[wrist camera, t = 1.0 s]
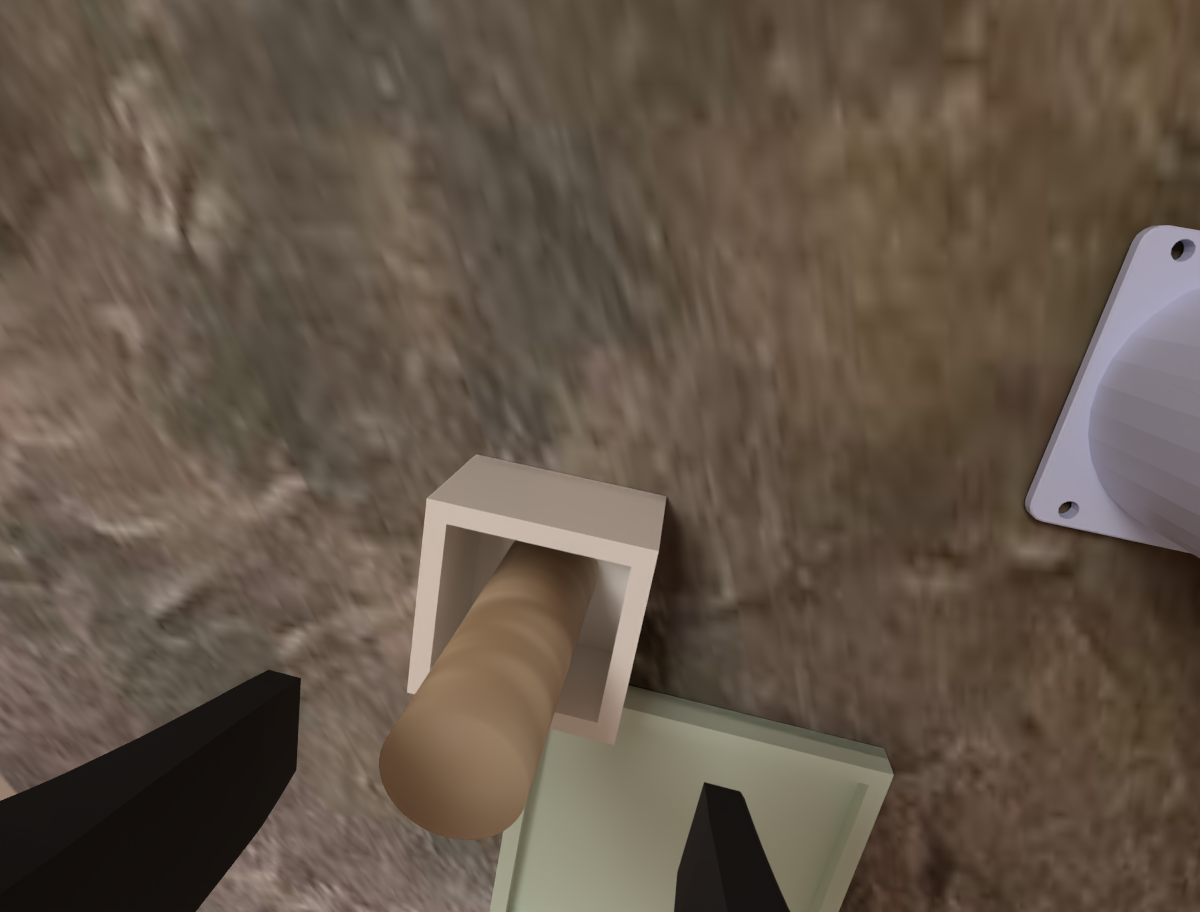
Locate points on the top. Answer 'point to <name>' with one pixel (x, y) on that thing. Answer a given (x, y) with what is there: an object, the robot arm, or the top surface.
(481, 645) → the dowel
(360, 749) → the top surface
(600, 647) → the open box
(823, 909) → the tray
